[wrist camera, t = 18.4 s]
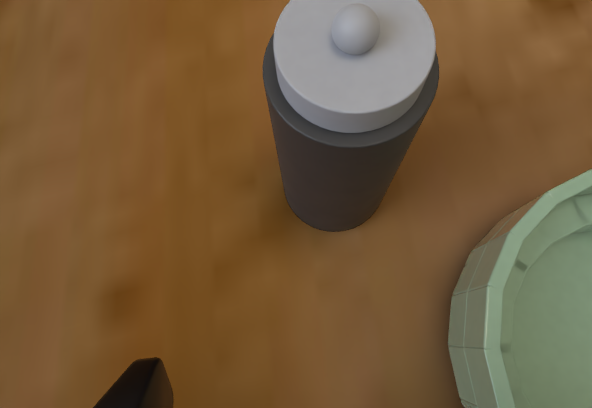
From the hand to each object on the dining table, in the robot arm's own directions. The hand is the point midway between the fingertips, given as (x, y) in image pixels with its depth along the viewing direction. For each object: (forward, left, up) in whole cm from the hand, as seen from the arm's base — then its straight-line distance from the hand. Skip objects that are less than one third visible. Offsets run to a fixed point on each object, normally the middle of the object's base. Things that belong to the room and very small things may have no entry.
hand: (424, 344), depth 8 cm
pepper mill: (+5, +6, -14) cm, 16 cm away
